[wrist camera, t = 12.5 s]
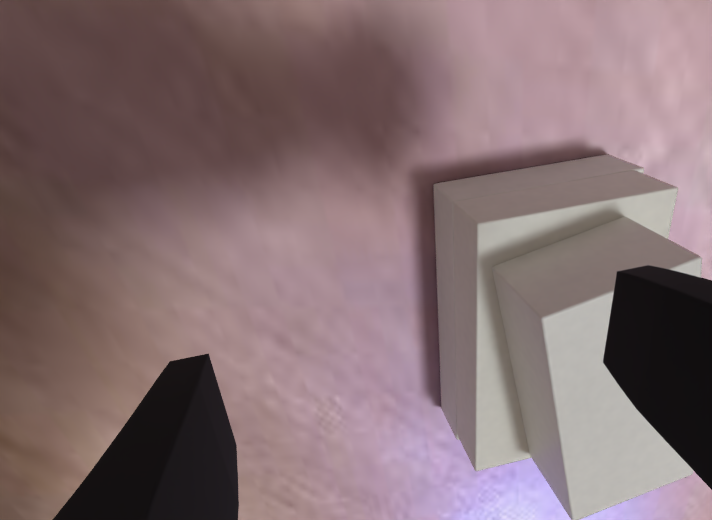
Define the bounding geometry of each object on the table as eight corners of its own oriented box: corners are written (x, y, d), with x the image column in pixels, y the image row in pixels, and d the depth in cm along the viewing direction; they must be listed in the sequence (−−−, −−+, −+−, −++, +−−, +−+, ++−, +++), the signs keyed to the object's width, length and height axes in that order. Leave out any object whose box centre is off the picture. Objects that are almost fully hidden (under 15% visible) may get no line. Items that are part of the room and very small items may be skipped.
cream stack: (440, 408, 23) (475, 479, 20) (432, 183, 18) (477, 223, 14) (579, 376, 24) (636, 439, 20) (608, 153, 19) (690, 185, 15)
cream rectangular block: (528, 454, 20) (573, 523, 17) (490, 266, 15) (541, 318, 13) (633, 413, 20) (693, 475, 17) (625, 215, 15) (703, 256, 13)
